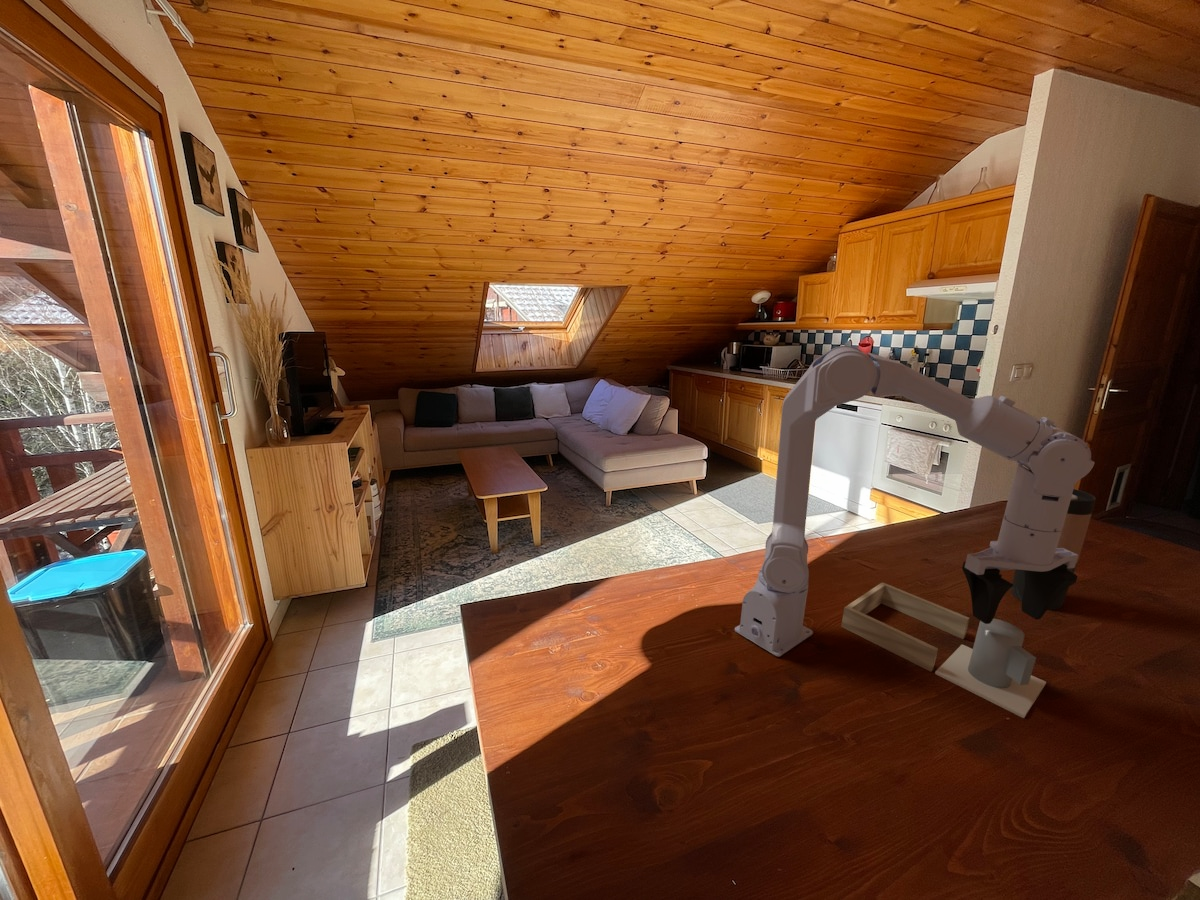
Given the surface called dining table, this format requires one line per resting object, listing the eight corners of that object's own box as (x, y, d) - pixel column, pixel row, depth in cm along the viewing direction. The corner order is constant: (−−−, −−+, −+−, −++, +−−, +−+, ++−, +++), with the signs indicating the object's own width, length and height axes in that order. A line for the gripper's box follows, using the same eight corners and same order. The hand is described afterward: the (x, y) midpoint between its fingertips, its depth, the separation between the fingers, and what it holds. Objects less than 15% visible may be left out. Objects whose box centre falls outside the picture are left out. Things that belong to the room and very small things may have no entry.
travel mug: (1043, 588, 94) (1072, 486, 89) (1075, 612, 87) (1110, 502, 82) (998, 585, 95) (1025, 483, 90) (1027, 609, 88) (1058, 499, 82)
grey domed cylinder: (959, 665, 73) (971, 618, 71) (990, 663, 73) (1002, 617, 71) (1002, 702, 66) (1016, 652, 64) (1036, 699, 67) (1051, 650, 65)
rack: (931, 671, 72) (936, 650, 71) (841, 626, 82) (844, 607, 81) (964, 637, 80) (969, 617, 79) (878, 600, 90) (882, 582, 89)
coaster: (1023, 718, 64) (1024, 715, 64) (935, 673, 72) (935, 671, 71) (1045, 684, 70) (1046, 681, 70) (961, 646, 78) (961, 644, 77)
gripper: (1049, 508, 69) (1024, 596, 73) (955, 512, 67) (934, 604, 71) (1106, 530, 63) (1075, 626, 66) (1004, 535, 60) (978, 635, 64)
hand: (1006, 617), depth 68 cm, fingers open, 7 cm apart
